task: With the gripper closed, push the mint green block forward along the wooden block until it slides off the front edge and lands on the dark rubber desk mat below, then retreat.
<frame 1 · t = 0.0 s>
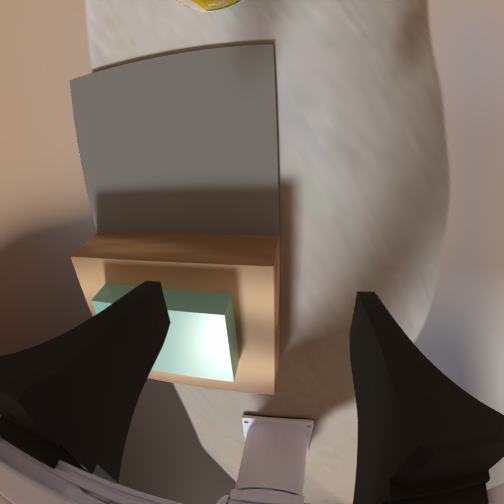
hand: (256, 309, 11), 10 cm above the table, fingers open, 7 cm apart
mint green block: (171, 323, 21), point 4 cm above the table, touching wooden block
mat: (166, 147, 19), on the table
wooden block: (191, 300, 25), on the table
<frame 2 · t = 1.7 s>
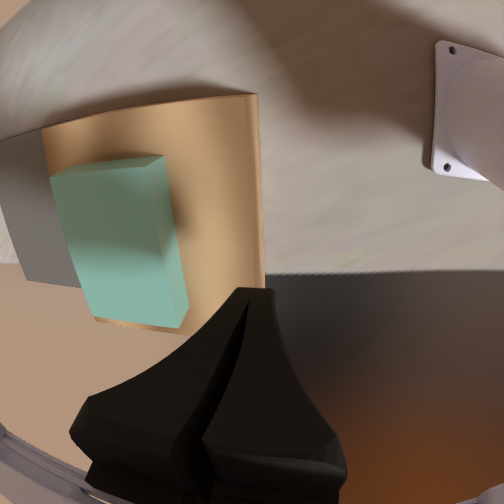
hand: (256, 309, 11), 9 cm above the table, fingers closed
mint green block: (128, 238, 17), point 4 cm above the table, touching wooden block
mat: (44, 213, 22), on the table
wooden block: (170, 210, 20), on the table
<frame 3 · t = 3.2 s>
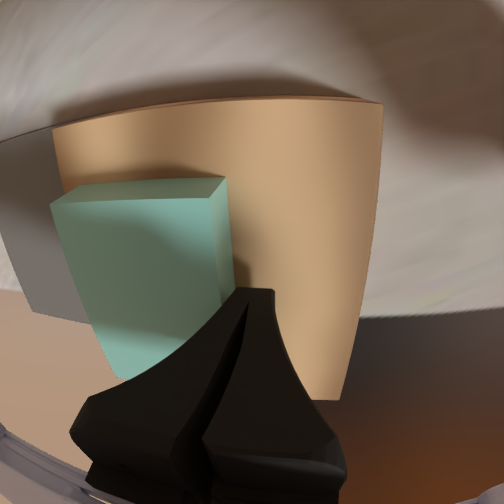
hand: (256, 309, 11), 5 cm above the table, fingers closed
mint green block: (164, 285, 13), point 4 cm above the table, touching gripper
mat: (53, 237, 18), on the table
wooden block: (230, 241, 16), on the table
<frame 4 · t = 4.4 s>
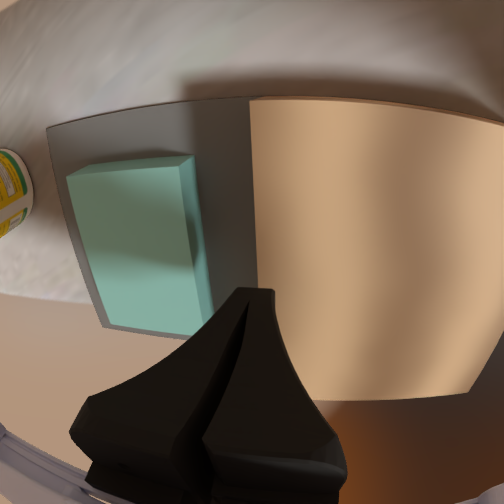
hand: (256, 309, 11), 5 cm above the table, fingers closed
mint green block: (134, 261, 15), point 2 cm above the table, tilted 180°, touching mat
mat: (157, 240, 17), on the table
supplement bottle: (13, 183, 17), on the table
wooden block: (389, 247, 15), on the table
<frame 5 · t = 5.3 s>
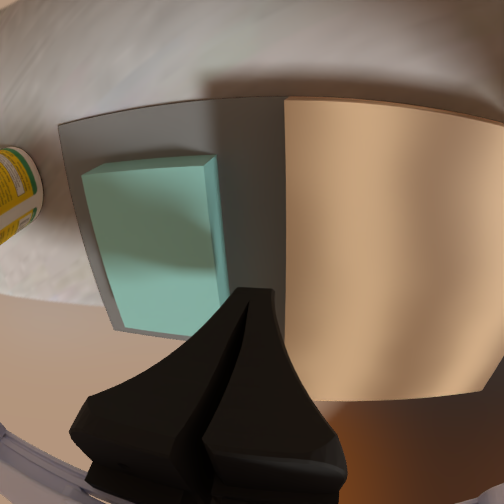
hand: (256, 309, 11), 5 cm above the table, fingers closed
mint green block: (153, 263, 15), point 2 cm above the table, tilted 180°, touching mat
mat: (174, 241, 17), on the table
supplement bottle: (21, 182, 16), on the table
wooden block: (409, 249, 15), on the table
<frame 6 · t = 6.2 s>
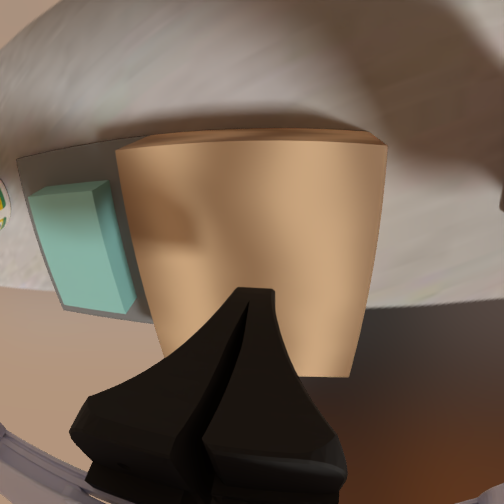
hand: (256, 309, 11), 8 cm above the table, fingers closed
mint green block: (73, 256, 19), point 2 cm above the table, tilted 180°, touching mat
mat: (93, 241, 21), on the table
wooden block: (259, 245, 19), on the table
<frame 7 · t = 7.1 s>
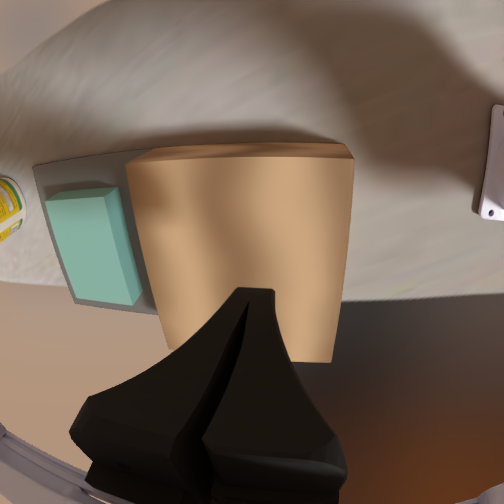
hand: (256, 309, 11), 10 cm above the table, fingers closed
mint green block: (86, 254, 22), point 2 cm above the table, tilted 180°, touching mat
mat: (103, 240, 24), on the table
supplement bottle: (12, 200, 24), on the table
wooden block: (250, 244, 22), on the table
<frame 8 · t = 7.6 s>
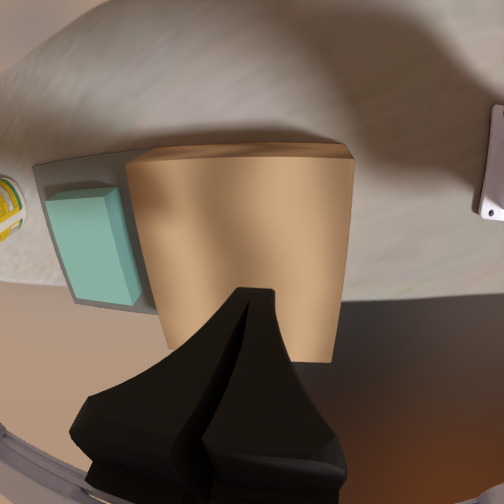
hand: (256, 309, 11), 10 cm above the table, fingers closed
mint green block: (86, 254, 22), point 2 cm above the table, tilted 180°, touching mat
mat: (103, 240, 24), on the table
supplement bottle: (12, 200, 24), on the table
wooden block: (250, 244, 22), on the table
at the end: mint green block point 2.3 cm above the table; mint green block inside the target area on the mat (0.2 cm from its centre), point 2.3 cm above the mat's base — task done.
